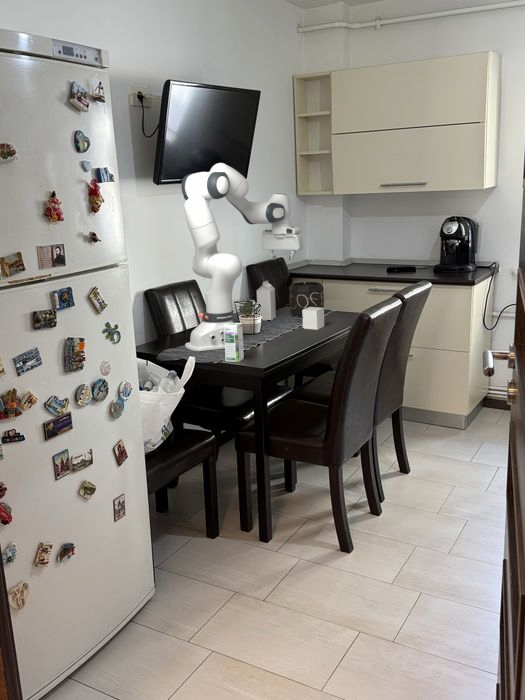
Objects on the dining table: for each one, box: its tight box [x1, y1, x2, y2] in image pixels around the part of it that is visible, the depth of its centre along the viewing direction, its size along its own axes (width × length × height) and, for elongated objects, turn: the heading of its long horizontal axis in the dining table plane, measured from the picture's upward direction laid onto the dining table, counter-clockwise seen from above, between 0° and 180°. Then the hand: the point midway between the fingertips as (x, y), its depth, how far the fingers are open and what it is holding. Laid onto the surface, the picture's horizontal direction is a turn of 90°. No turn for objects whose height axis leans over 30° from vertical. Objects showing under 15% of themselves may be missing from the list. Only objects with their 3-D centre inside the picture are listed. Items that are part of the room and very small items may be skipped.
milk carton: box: [256, 280, 277, 321], centre depth 335 cm, size 7×7×19 cm
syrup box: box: [224, 322, 245, 363], centre depth 262 cm, size 6×6×14 cm
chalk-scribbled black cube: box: [288, 281, 325, 318], centre depth 343 cm, size 18×18×16 cm
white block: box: [302, 307, 325, 331], centre depth 314 cm, size 7×7×9 cm
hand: (282, 259), depth 314 cm, fingers open, 8 cm apart
